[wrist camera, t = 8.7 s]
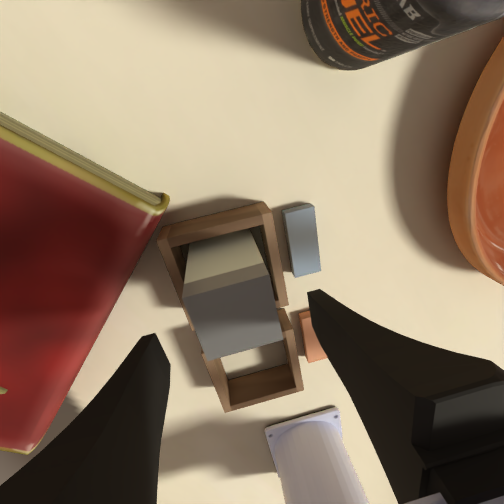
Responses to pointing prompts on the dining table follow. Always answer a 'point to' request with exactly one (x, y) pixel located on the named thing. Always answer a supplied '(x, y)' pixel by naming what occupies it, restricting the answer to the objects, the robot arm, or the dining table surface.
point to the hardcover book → (58, 270)
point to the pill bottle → (387, 26)
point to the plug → (230, 295)
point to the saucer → (480, 174)
